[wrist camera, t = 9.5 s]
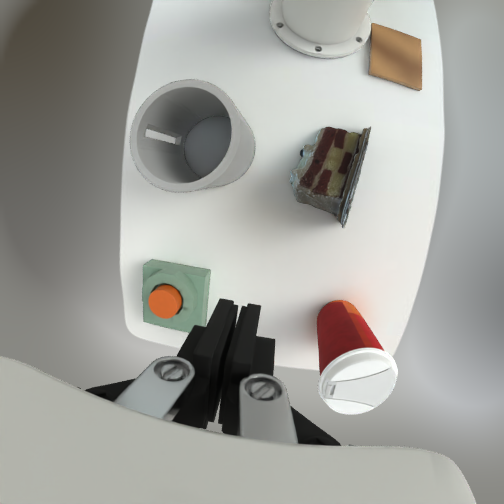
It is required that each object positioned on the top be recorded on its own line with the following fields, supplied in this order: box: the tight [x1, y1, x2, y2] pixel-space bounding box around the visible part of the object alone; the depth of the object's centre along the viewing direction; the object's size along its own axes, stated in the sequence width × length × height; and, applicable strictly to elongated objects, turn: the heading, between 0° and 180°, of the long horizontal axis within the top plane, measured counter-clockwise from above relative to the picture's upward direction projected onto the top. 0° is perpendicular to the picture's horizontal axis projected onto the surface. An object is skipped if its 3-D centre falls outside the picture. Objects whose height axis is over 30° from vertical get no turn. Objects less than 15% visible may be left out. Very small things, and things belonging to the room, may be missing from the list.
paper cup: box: [317, 300, 398, 414], centre depth 29 cm, size 8×8×14 cm
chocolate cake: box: [290, 127, 371, 228], centre depth 30 cm, size 10×7×12 cm
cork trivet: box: [369, 23, 422, 91], centre depth 26 cm, size 8×7×1 cm
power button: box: [148, 285, 182, 319], centre depth 32 cm, size 4×4×2 cm
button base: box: [142, 259, 211, 333], centre depth 35 cm, size 8×8×4 cm
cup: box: [130, 79, 255, 193], centre depth 26 cm, size 9×9×12 cm
